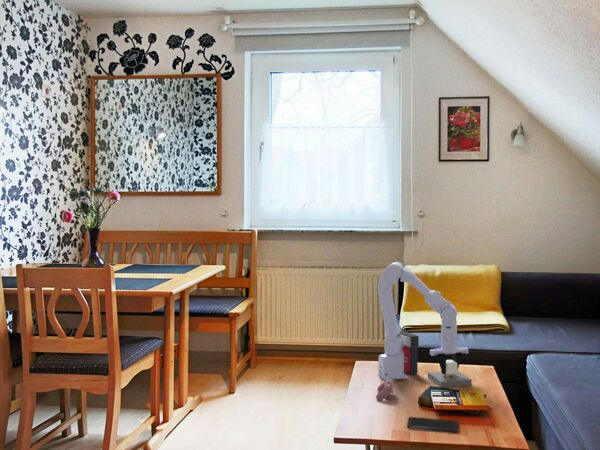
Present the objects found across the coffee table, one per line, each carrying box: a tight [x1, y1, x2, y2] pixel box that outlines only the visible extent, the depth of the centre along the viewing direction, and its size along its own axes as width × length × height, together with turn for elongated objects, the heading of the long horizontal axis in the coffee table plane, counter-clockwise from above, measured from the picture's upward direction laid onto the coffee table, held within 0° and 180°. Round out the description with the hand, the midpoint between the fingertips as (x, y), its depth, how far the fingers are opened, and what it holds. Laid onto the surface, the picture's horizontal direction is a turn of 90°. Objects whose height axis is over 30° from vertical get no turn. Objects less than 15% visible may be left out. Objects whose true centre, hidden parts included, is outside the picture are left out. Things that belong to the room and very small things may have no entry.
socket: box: [427, 370, 472, 388], centre depth 217 cm, size 12×12×3 cm
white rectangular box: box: [446, 359, 457, 378], centre depth 217 cm, size 4×5×6 cm
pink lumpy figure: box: [375, 379, 395, 401], centre depth 202 cm, size 10×5×7 cm, turn 169°
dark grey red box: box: [400, 330, 420, 376], centre depth 231 cm, size 11×4×15 cm, turn 25°
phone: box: [406, 416, 460, 434], centre depth 175 cm, size 8×1×15 cm
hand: (449, 373), depth 217 cm, fingers closed on white rectangular box, 4 cm apart
